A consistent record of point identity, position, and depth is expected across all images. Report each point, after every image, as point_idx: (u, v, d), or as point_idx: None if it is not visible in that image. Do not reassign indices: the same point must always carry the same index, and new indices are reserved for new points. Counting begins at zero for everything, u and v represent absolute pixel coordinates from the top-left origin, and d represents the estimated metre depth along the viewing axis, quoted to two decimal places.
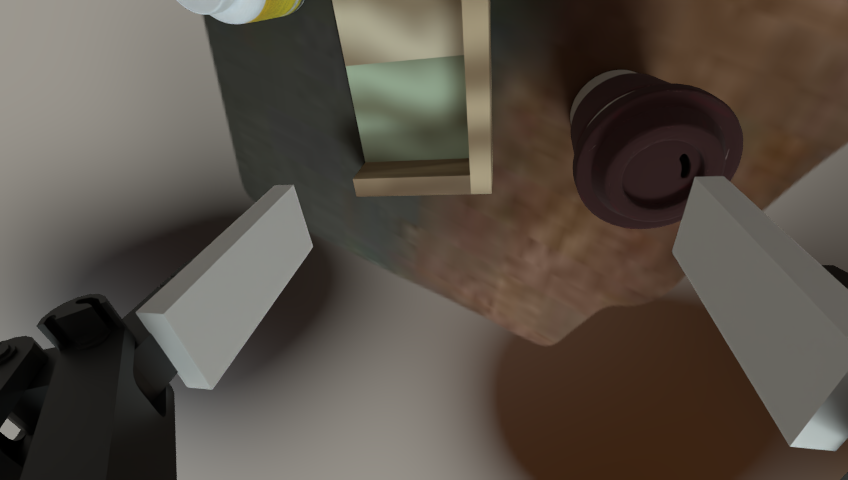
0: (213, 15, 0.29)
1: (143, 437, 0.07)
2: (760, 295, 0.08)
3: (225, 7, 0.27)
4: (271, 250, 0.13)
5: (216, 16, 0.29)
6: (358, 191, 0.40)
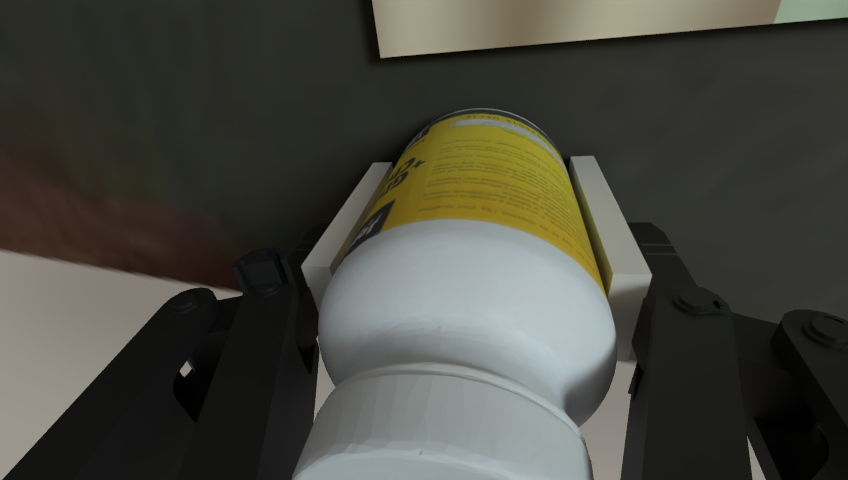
0: None
1: (294, 393, 0.08)
2: None
3: (582, 458, 0.05)
4: None
5: (578, 426, 0.08)
6: None
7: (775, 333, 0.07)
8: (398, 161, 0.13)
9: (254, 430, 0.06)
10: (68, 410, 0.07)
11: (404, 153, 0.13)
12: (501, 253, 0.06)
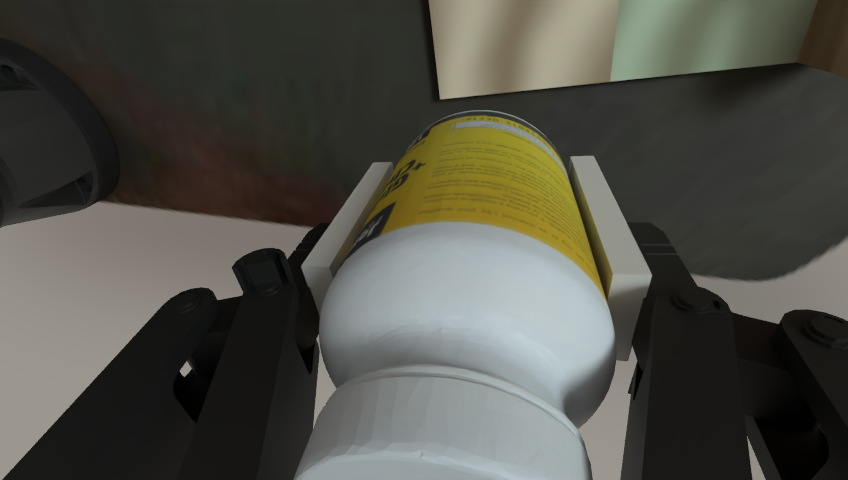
0: None
1: (294, 393, 0.08)
2: None
3: (581, 460, 0.06)
4: None
5: (578, 428, 0.08)
6: None
7: (775, 333, 0.07)
8: (398, 163, 0.13)
9: (254, 430, 0.06)
10: (68, 410, 0.07)
11: (404, 155, 0.13)
12: (501, 256, 0.07)
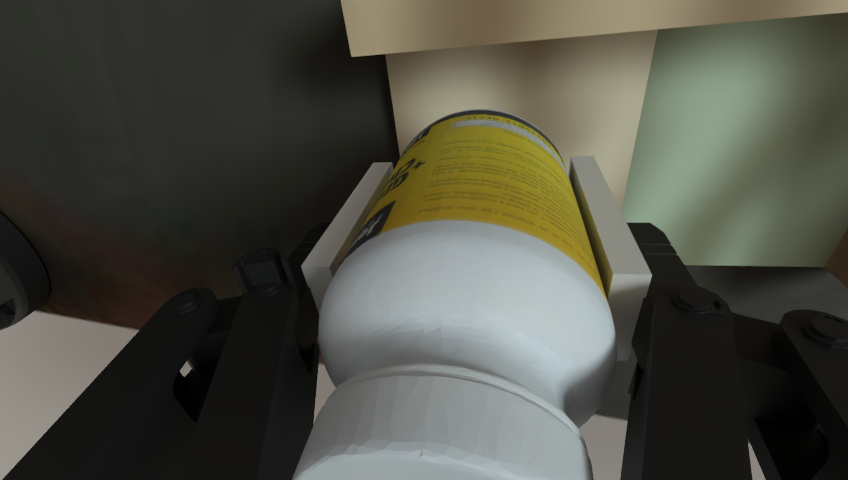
0: None
1: (294, 393, 0.08)
2: None
3: (582, 459, 0.05)
4: None
5: (578, 427, 0.08)
6: None
7: (775, 333, 0.07)
8: (398, 162, 0.13)
9: (255, 430, 0.06)
10: (68, 410, 0.07)
11: (404, 154, 0.13)
12: (501, 254, 0.06)
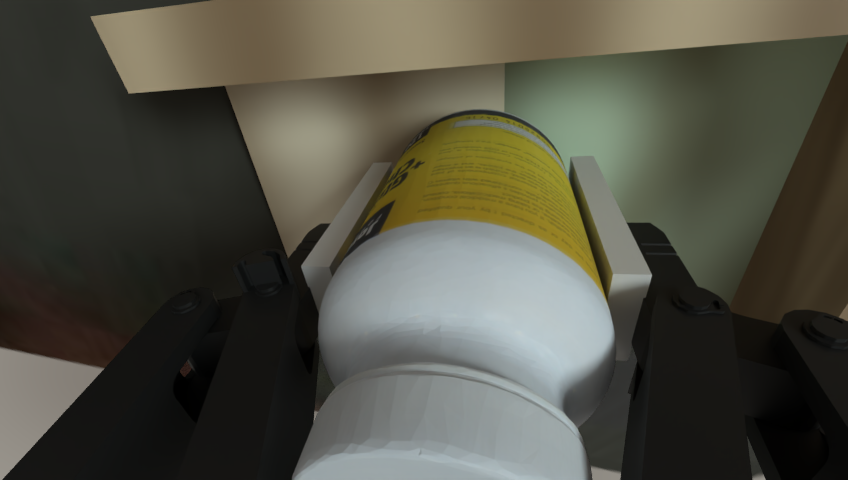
0: None
1: (294, 393, 0.08)
2: None
3: (581, 458, 0.05)
4: None
5: (577, 426, 0.08)
6: None
7: (775, 333, 0.07)
8: (398, 162, 0.13)
9: (254, 430, 0.06)
10: (68, 410, 0.07)
11: (404, 154, 0.13)
12: (500, 254, 0.06)
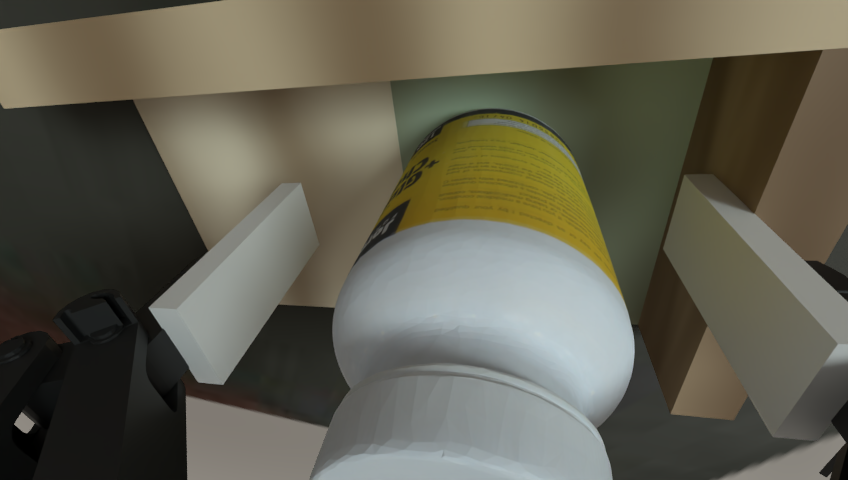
0: None
1: (155, 432, 0.07)
2: (745, 290, 0.09)
3: (603, 462, 0.05)
4: (279, 247, 0.13)
5: None
6: (717, 413, 0.14)
7: None
8: (410, 161, 0.13)
9: (105, 476, 0.06)
10: None
11: (416, 153, 0.13)
12: (520, 255, 0.06)
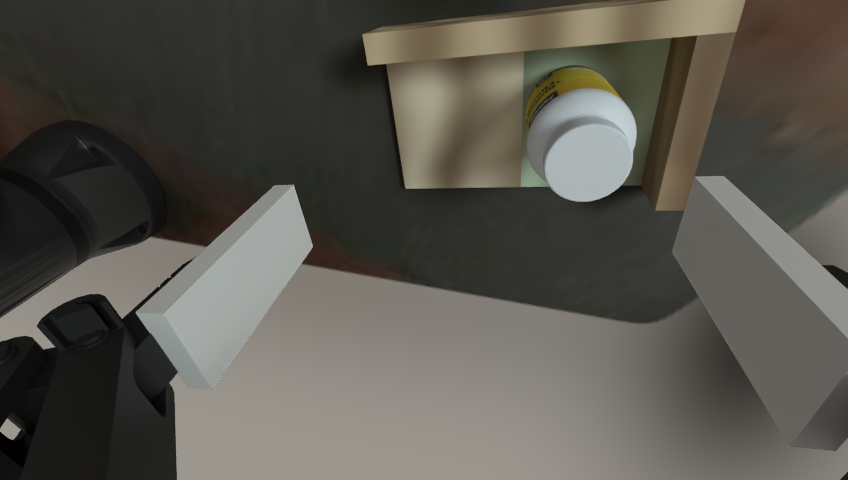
0: None
1: (143, 437, 0.07)
2: (760, 295, 0.08)
3: None
4: (271, 250, 0.13)
5: None
6: (676, 206, 0.29)
7: None
8: (537, 88, 0.29)
9: None
10: None
11: (540, 84, 0.28)
12: (602, 94, 0.22)
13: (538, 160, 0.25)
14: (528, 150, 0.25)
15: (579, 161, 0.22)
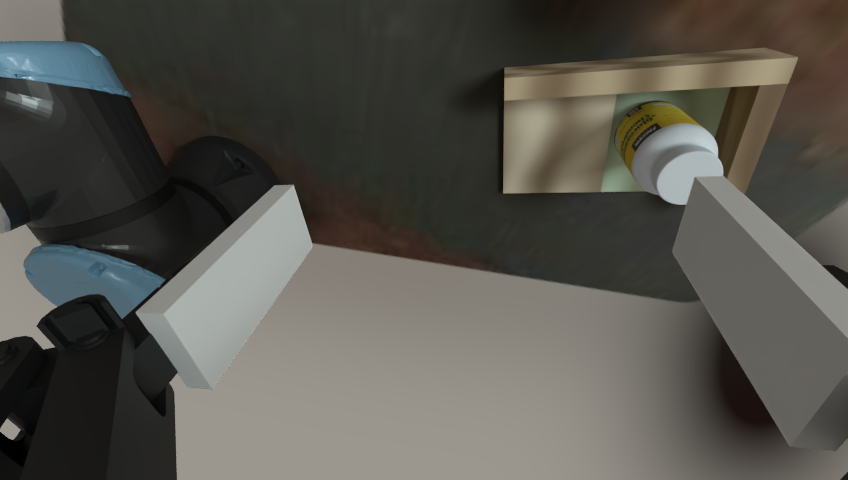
0: None
1: (143, 437, 0.07)
2: (760, 295, 0.08)
3: None
4: (271, 250, 0.13)
5: None
6: None
7: None
8: (629, 118, 0.38)
9: None
10: None
11: (632, 115, 0.37)
12: (697, 128, 0.31)
13: (643, 174, 0.33)
14: (635, 166, 0.34)
15: (684, 176, 0.31)
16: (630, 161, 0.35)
